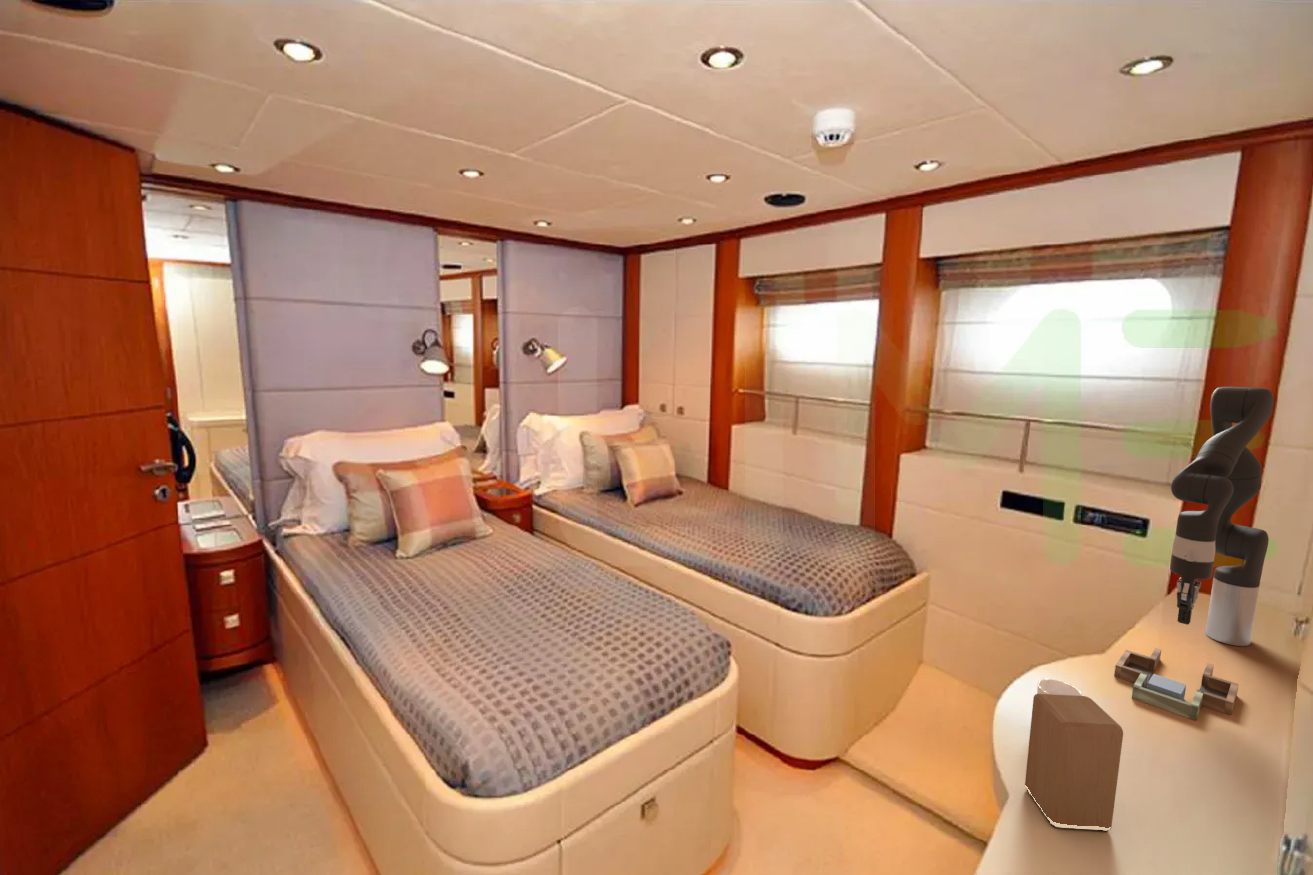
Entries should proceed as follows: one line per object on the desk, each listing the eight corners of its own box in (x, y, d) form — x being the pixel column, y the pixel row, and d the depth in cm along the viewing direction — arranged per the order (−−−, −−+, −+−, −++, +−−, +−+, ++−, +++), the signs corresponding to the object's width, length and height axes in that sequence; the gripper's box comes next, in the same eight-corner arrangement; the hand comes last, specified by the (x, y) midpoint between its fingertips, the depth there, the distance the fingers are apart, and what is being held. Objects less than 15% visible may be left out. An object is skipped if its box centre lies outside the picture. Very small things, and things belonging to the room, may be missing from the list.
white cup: (1070, 724, 129) (1074, 682, 128) (1082, 746, 122) (1087, 703, 121) (1029, 717, 132) (1033, 676, 130) (1039, 738, 125) (1043, 695, 123)
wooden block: (1077, 791, 110) (1089, 693, 107) (1113, 834, 100) (1127, 728, 97) (1022, 787, 111) (1031, 690, 108) (1051, 830, 101) (1063, 725, 98)
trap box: (1130, 650, 160) (1132, 640, 160) (1239, 683, 144) (1241, 672, 144) (1105, 688, 143) (1107, 677, 142) (1226, 731, 127) (1228, 718, 126)
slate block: (1151, 688, 143) (1153, 673, 142) (1184, 699, 138) (1186, 684, 138) (1145, 698, 139) (1147, 682, 139) (1178, 710, 135) (1181, 694, 134)
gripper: (1176, 544, 147) (1168, 609, 150) (1167, 558, 139) (1158, 626, 141) (1217, 552, 142) (1208, 619, 144) (1210, 566, 133) (1200, 637, 136)
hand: (1183, 622), depth 143 cm, fingers closed
